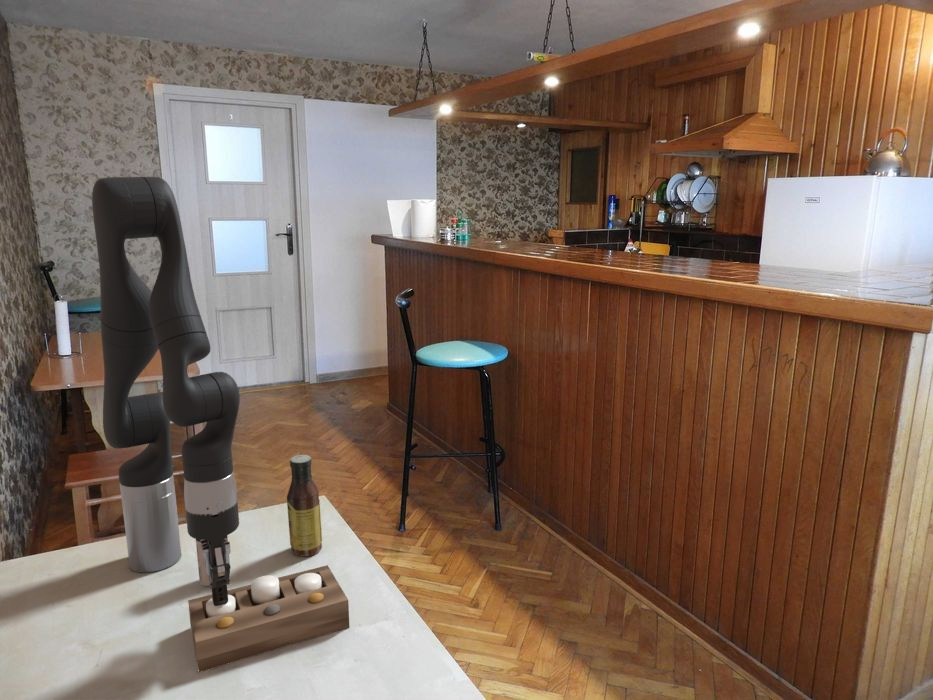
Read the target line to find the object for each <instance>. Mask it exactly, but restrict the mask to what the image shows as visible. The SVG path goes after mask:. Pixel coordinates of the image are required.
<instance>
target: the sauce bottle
mask: <svg viewBox="0 0 933 700" xmlns="http://www.w3.org/2000/svg"><path fill="white" fill-rule="evenodd" d="M289 467H290V470H291V482H290V485H289V488H288V491H287V495H286V505H287V516H288V517H287V518H288V521H287V522H288V532H289V545H290V546H291V552H292V553H293V554H294V555H296V556H299V557H311V556H314V555H315V554H317V553H319V552H320V551H321V550H322V547H323V543H322V542H323V531H322V516H321V502H320V501H321V500H320V497H319V496H320V495H319V493H320V492H319V487H318V486H317V485H316V483H315V480H313V475H312V457H311V456H310V455H308V454H297V455H295V456H293V457H291V458H290V460H289Z"/></svg>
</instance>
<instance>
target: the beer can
mask: <svg viewBox="0 0 933 700" xmlns="http://www.w3.org/2000/svg"><path fill="white" fill-rule="evenodd" d="M195 545H196V554H197V555H196V556H197V567H198V576H199V581H198V582H199V584H200V585H202V586H203V587H204V586H205V587H210V588H211V584H210V579H209V577H208V576H209V575H208V574H207V571H206V567H205V563H204V556H203V551H202V548H201V540H198V539H195Z"/></svg>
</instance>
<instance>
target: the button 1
mask: <svg viewBox="0 0 933 700" xmlns="http://www.w3.org/2000/svg"><path fill="white" fill-rule="evenodd" d="M233 611H236V603H235V598H234V597H233V596H232V595H228V602H227V603H226V604H223V605H219V606H214V604H213V600H212V598H211V599H210V600H208V602H207V603H206V612H207V618H210V617H214V616H218V615H222V614H225V613H229V612H233Z"/></svg>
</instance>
